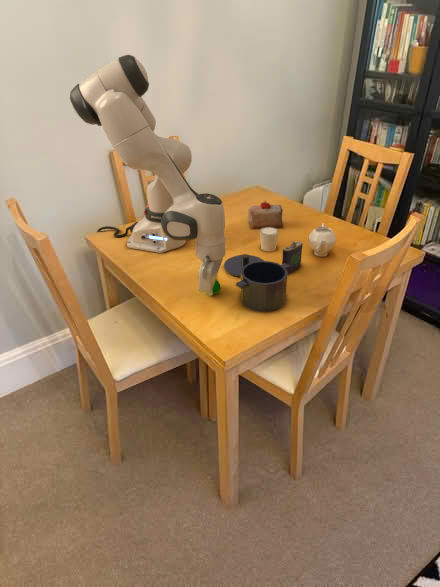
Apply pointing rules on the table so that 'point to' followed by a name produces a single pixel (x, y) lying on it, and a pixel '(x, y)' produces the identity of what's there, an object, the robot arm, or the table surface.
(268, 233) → the tan cup
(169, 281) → the table surface
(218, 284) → the polyhedron
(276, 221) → the food item
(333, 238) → the teapot
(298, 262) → the flask
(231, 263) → the pot lid
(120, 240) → the table surface
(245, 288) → the pot
